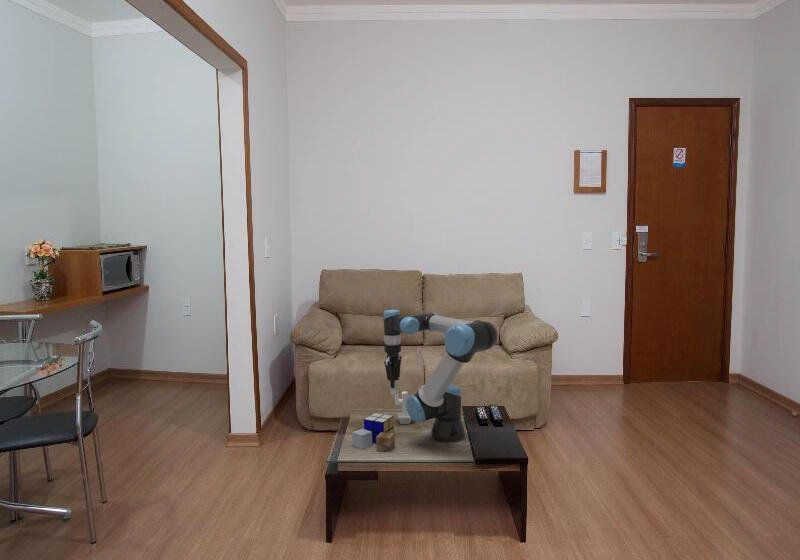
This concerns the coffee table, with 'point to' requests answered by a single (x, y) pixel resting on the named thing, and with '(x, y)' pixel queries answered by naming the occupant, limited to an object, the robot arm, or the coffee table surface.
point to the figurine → (404, 416)
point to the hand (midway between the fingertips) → (394, 394)
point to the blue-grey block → (362, 438)
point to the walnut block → (385, 442)
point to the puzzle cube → (379, 424)
